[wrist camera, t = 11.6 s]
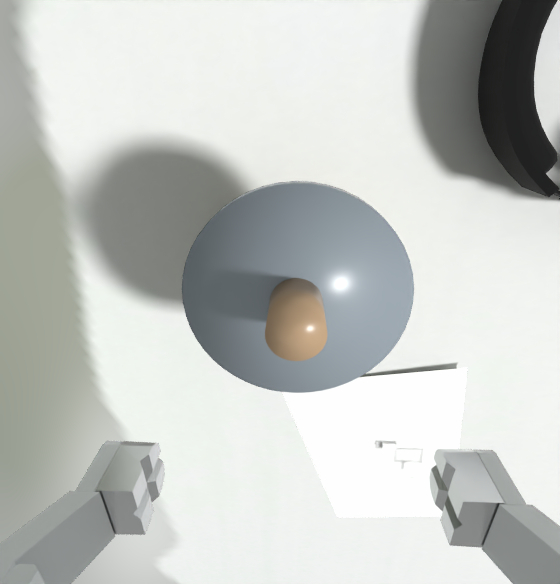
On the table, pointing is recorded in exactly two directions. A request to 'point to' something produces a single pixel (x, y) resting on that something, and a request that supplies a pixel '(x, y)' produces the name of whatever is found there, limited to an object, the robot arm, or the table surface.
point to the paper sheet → (381, 439)
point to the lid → (297, 287)
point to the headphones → (516, 94)
